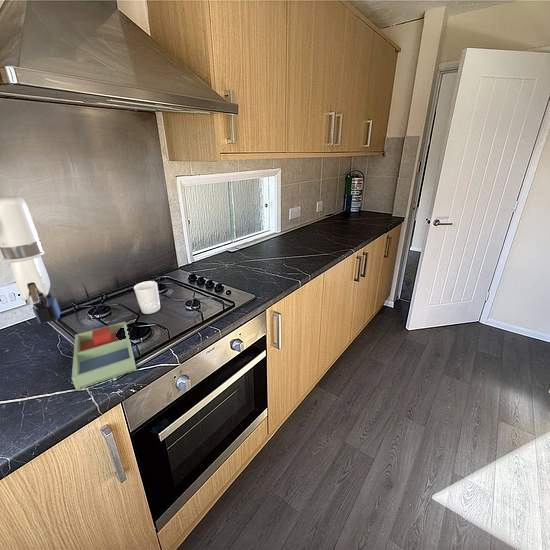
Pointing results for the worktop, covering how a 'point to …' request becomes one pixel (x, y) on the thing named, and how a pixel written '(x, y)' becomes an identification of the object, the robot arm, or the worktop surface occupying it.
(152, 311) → the white cup
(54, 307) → the blue block
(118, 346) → the tray
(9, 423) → the worktop surface
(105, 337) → the red block
